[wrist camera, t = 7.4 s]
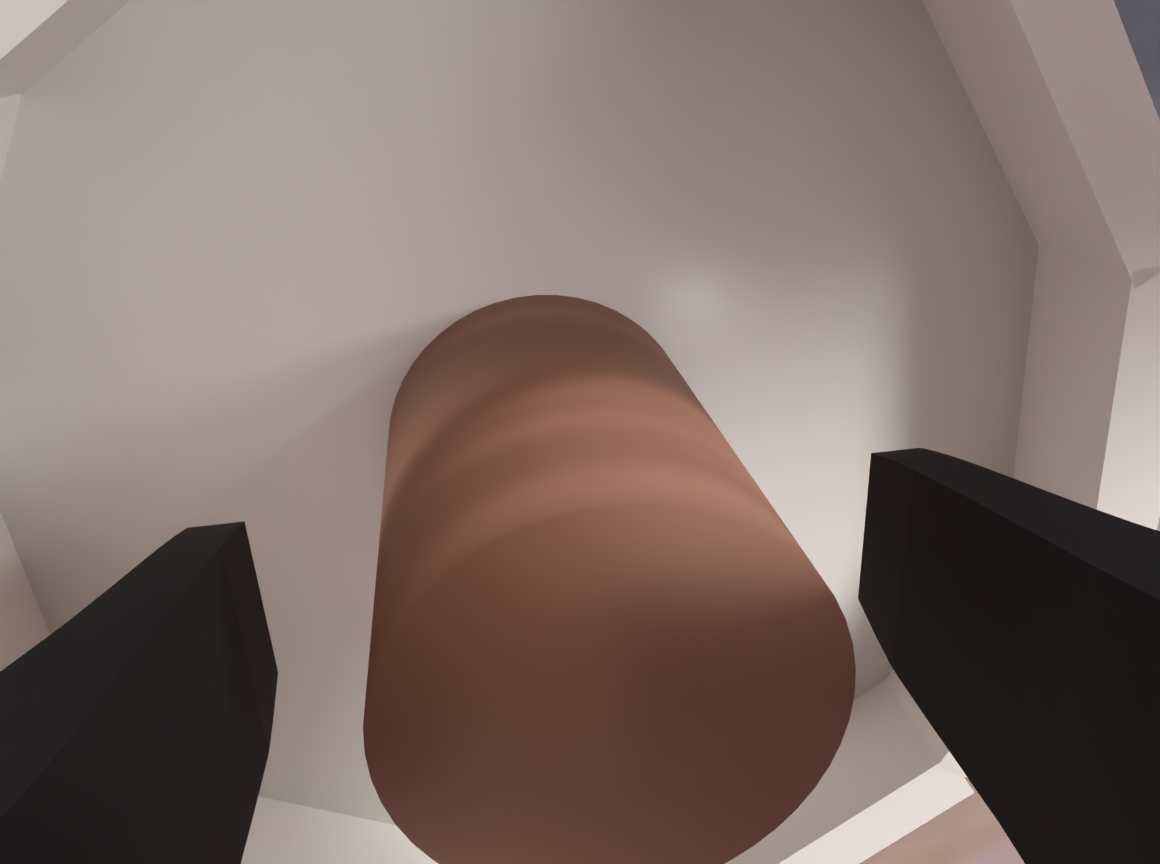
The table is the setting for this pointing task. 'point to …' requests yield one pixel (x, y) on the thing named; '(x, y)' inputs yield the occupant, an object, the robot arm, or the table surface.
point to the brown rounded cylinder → (587, 609)
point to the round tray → (556, 267)
